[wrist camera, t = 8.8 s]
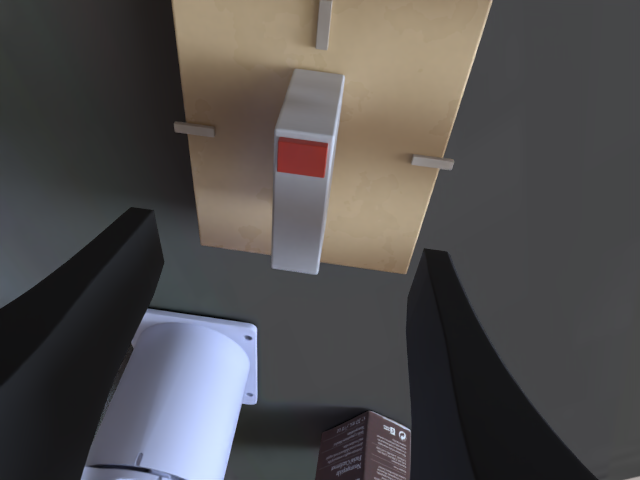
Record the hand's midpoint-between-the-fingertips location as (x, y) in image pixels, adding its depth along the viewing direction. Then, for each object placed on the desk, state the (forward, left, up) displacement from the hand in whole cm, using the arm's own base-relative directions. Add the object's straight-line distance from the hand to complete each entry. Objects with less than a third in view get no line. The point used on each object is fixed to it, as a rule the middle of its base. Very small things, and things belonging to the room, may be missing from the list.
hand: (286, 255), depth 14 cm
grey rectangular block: (0, 0, -5) cm, 5 cm away
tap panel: (0, 0, -8) cm, 8 cm away
